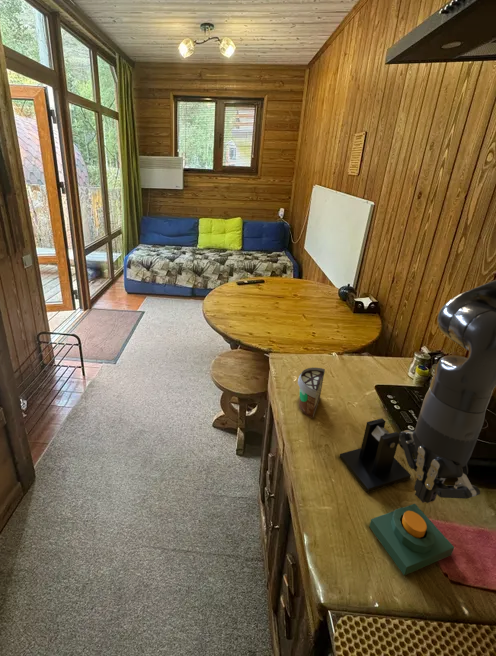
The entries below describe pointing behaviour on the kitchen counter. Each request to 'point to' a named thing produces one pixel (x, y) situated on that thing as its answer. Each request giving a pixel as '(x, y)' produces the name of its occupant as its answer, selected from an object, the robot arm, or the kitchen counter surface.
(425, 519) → the button panel
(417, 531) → the button
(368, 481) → the bracket
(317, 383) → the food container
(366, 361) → the kitchen counter surface
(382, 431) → the lever
